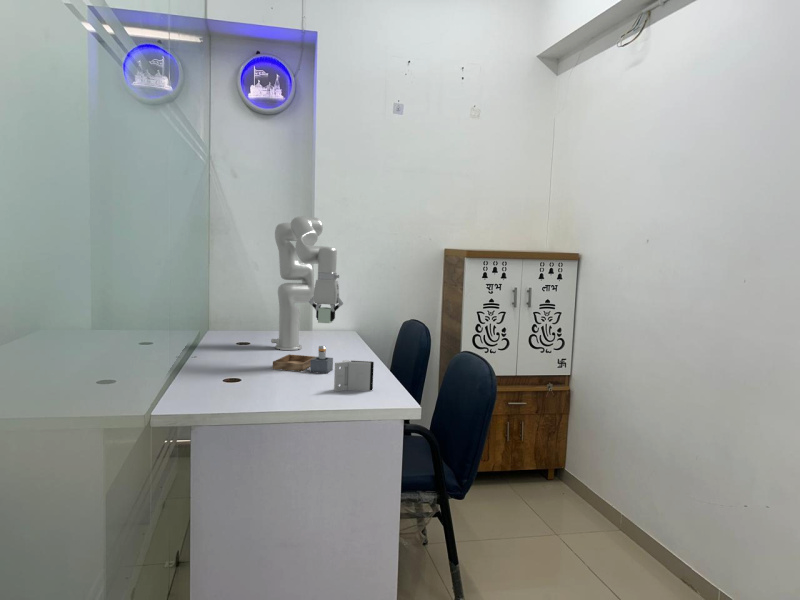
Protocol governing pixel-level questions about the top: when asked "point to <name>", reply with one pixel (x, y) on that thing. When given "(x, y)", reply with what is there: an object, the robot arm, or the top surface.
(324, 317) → the pale green block
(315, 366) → the block
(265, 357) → the top surface
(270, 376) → the top surface
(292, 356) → the tray
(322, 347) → the cylinder
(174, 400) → the top surface
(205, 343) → the top surface
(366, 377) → the hinge
